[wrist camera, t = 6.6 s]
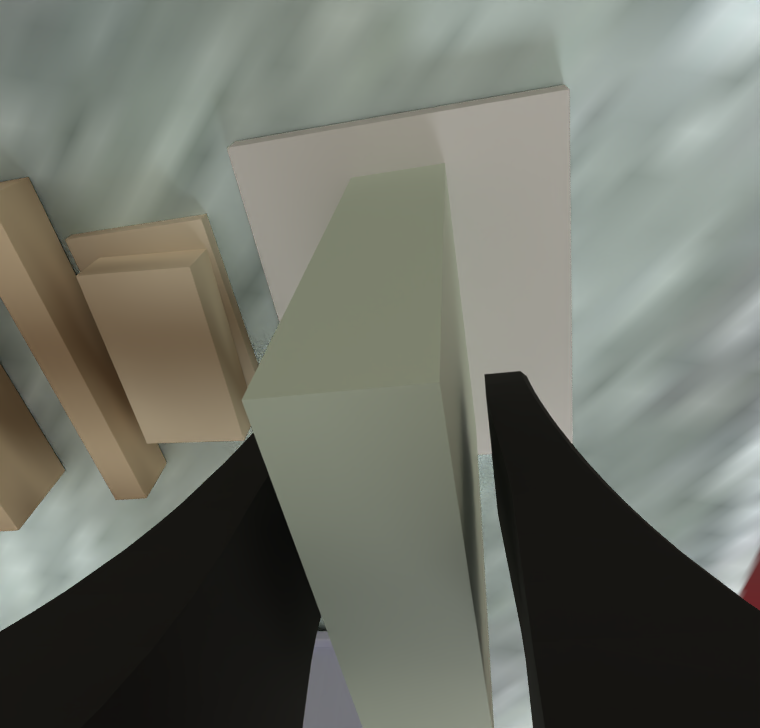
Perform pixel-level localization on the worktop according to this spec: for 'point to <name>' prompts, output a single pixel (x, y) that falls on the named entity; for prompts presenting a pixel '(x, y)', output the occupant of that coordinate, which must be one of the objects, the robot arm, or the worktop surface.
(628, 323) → the worktop surface
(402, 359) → the block
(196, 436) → the offcut upper
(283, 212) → the mat
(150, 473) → the rack
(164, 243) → the offcut lower
